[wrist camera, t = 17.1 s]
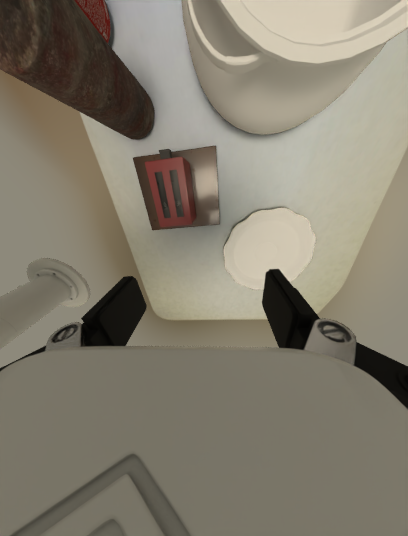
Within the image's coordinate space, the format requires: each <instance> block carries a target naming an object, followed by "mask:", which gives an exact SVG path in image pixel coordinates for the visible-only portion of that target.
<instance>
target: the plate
mask: <svg viewBox="0 0 408 536" xmlns="http://www.w3.org/2000/svg"><path fill="white" fill-rule="evenodd" d="M315 244H316V235H315V234H314V232H313V231H312V230H311V226H310V222H309V220H308V219H307V218H306V217H305V216H302V215H299V214H296V213H294V212H293V211H291V210H290V209H288V208H281V207H280V208H276V209H272V210H259V211H257V212H254V213H252V214H251V215H250V216H249V217H248V218H247V219H246V220H244V221H242V222H241V223H239V224H237V225H236V226H235V227H234V229H233V230H232V232H231V234H230V237H229V239H228V241H227V242H226V244H225V245H224V250H223V253H224V258H225V263H224V266H225V269H226V271H227V272H228V273H229V274H230V275H231V276H232V278H233V279H234V281H235V282H236V283H238V284H239V285H243V286H247V287H248V288H250V289H254V290H261V289H264V283H265V275H266V272H267V271H269V269H279V270H280V271H281V272H282V273H283V275H284V276H285V277H286V279H287V280H288V281H289V282H290V281H293V280H294V279H295V278H297V277H298V276H299V275H300V273H301V272H302V270H303V269H304V268H305V267H307V266H308V265H309V263H310V262H311V260H312V258H313V249H314V247H315Z"/></svg>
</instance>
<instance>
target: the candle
mask: <svg viewBox="0 0 408 536" xmlns="http://www.w3.org/2000/svg"><path fill="white" fill-rule="evenodd" d="M0 69H1V70H3V71H4V72H6V73H8V74H10V75H12V76H14V77H15V78H17V79H19V80H21V81H23V82H25V83H27V84H29V85H30V86H32V87H34V88H36V89H38V90H40V91H42V92H44V93H46V94H48V95H49V96H52V97H54V98H55V99H57V100H59V101H61V102H63V103H64V104H67V105H68V106H71V107H72V108H74V109H76V110H78V111H80V112H81V113H83V114H85V115H87V116H89V117H91V118H93V119H95V120H96V121H98V122H100V123H102V124H104V125H106V126H107V127H109V128H111V129H113V130H115V131H117V132H119V133H120V134H122V135H124V136H126V137H128V138H131V139H140V138H143V137H145V136H146V135H147V133H148V132H149V131H150V130H151V128H152V124H153V119H154V108H153V104H152V101H151V99H150V97H149V96H148V94H147V93H146V91H145V90H144V88H143V87H142V86H141V85H140V83H139V82H138V81H137V79H136V78H135V77H134V76H133V74H132V73H131V72H130V71H129V70H128V68H127V67H126V66H125V64H124V63H123V62H122V61H121V60H120V58H119V57H118V56H117V55H116V53H115V52H114V51H113V50H112V48H111V47H110V46H109V45H108V43H107V42H106V41H105V39H104V38H103V37H102V35H101V34H100V33H99V32H98V30H97V29H96V28H95V27H94V25H93V24H92V23H91V21H90V20H89V19H88V18H87V16H86V15H85V14H84V12H83V11H82V10H81V8H80V7H79V6H78V5H77V3H76V2H75V1H74V0H0Z"/></svg>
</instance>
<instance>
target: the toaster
mask: <svg viewBox="0 0 408 536" xmlns="http://www.w3.org/2000/svg"><path fill="white" fill-rule="evenodd" d="M159 153H160V158H161V160H154V161H147V162H145V166H146V170H147V174H148V178H149V182H150V186H151V191H152V195H153V199H154V203H155V207H156V211H157V216H158V220H159V224H160V227H169V226H180V225H192V223H193V222H194V220H195V219H196V211H195V203H194V195H193V186H192V178H191V170H190V163H189V162H188V161H187V160H186V159H184V158H183V157H176V158H172V154H171V150H169V149H165V150H159Z"/></svg>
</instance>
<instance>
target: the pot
mask: <svg viewBox="0 0 408 536" xmlns="http://www.w3.org/2000/svg"><path fill="white" fill-rule="evenodd" d="M182 10H183V21H184V26H185V30H186V35H187V40H188V44H189V49H190V53H191V57H192V62H193V65H194V68H195V71H196V74H197V76H198V79H199V82H200V84H201V87H202V89H203V90H204V92H205V94H206V96H207V97H208V99H209V101H210V103H211V104H212V106H213V107H214V108H215V109H216V110H217V111H218V113H219V114H220V115H221V116H222V117H223V118H224V119H225V120H227V121H228V122H229V123H231V124H232V125H233V126H235V127H236V128H239V129H241V130H244V131H246V132H249V133H255V134H264V135H266V134H273V133H280V132H283V131H286V130H288V129H291V128H294V127H296V126H298V125H300V124H302V123H303V122H305V121H306V120H308V119H310V118H311V117H313V116H314V115H316V114H318V113H319V112H321V111H322V110H324V109H325V108H326V107H327V106H328V105H330V104H331V103H332V102H333V101H334V100H335V99H337V98H338V97H339V96H340V95H341V94H342V93H344V91H345V90H346V89H347V88H348V87H349V86H350V85H351V84H352V83H353V81H354V80H355V79H356V78H357V77H358V76H359V75H360V74H361V73H362V71H363V70H364V69H365V68H366V67H367V66H368V65H369V64H370V63H371V61H372V60H373V59H374V58H375V57H376V56H377V55H378V54H379V52H380V51H381V49H382V48H383V47H384V45H385V44H386V42H387V41H389V40H390V39H392V38H393V37H395V36H397V35H398V34H400V33H401V32H403V31H404V30H406V29H407V28H408V0H182Z"/></svg>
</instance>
